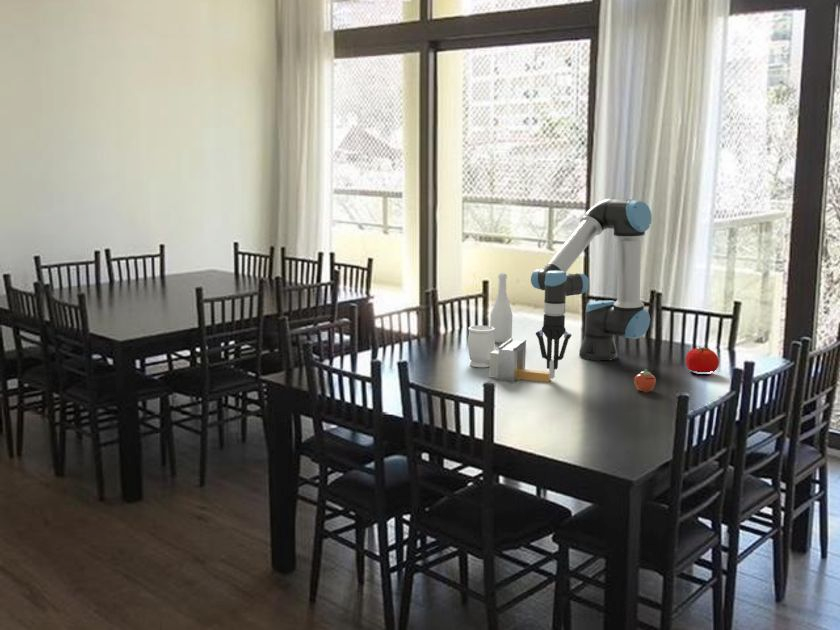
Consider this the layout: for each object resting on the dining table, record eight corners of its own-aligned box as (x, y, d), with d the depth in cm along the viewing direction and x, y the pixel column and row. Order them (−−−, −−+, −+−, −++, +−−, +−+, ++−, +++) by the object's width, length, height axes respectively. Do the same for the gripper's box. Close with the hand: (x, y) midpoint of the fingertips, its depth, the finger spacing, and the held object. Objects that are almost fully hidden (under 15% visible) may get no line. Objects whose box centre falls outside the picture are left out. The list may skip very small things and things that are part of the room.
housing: (524, 372, 330) (526, 339, 328) (513, 383, 316) (514, 348, 313) (509, 371, 332) (510, 338, 330) (497, 381, 318) (498, 346, 315)
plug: (551, 379, 321) (552, 355, 319) (548, 382, 317) (549, 358, 315) (488, 372, 329) (488, 349, 328) (484, 376, 325) (485, 352, 323)
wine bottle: (512, 343, 379) (514, 275, 374) (490, 343, 379) (492, 274, 374) (510, 338, 389) (512, 272, 383) (489, 338, 389) (491, 271, 383)
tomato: (692, 368, 340) (694, 342, 338) (723, 374, 331) (725, 348, 329) (677, 373, 332) (679, 346, 331) (708, 379, 324) (710, 352, 322)
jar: (492, 369, 334) (493, 331, 332) (465, 367, 336) (466, 329, 334) (495, 363, 345) (496, 325, 342) (469, 361, 347) (470, 324, 344)
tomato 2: (642, 394, 303) (643, 372, 301) (629, 389, 309) (630, 367, 308) (659, 392, 306) (661, 370, 304) (646, 387, 312) (647, 365, 311)
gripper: (574, 313, 315) (571, 376, 320) (539, 310, 320) (536, 373, 324) (570, 317, 308) (567, 381, 313) (534, 314, 313) (531, 378, 317)
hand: (551, 377), depth 318 cm, fingers closed
